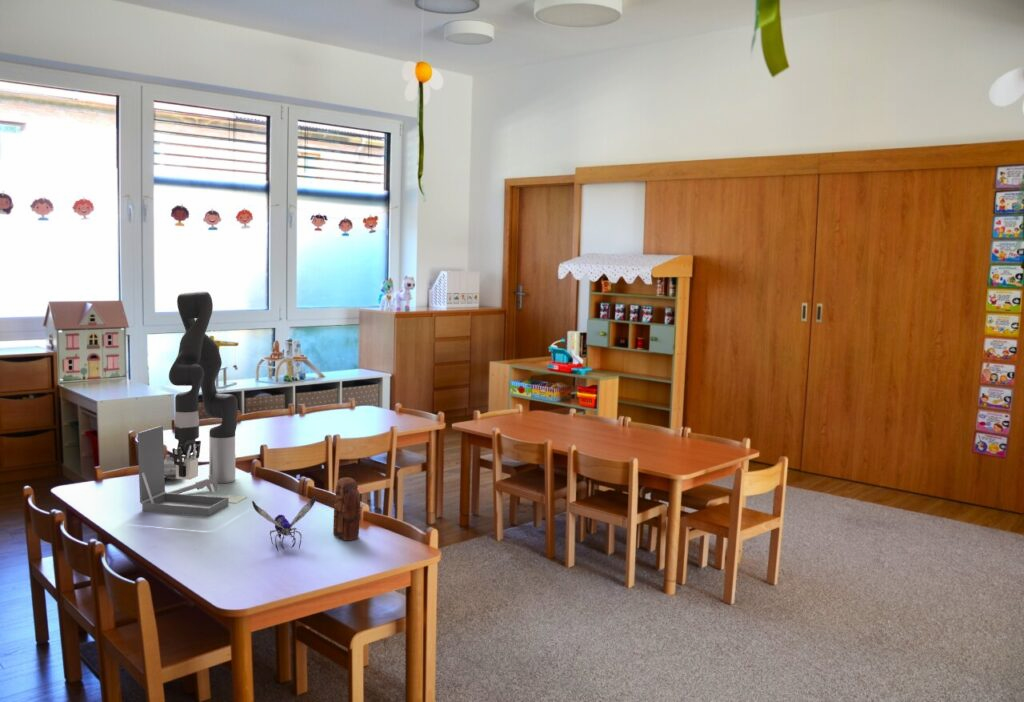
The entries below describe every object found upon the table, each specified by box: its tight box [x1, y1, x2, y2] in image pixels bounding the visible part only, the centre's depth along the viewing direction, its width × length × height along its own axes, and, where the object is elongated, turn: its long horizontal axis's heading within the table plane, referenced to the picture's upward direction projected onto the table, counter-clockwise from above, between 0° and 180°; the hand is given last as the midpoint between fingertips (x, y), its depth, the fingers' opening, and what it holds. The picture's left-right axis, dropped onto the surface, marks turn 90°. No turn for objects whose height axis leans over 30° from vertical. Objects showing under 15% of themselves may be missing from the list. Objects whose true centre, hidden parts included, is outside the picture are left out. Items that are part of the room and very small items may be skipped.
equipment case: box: [137, 425, 229, 517], centre depth 271 cm, size 13×25×26 cm, turn 82°
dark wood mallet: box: [332, 476, 361, 542], centre depth 251 cm, size 12×6×18 cm, turn 37°
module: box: [175, 458, 199, 481], centre depth 271 cm, size 5×5×6 cm
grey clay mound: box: [164, 454, 176, 481], centre depth 308 cm, size 12×12×11 cm
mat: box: [222, 494, 248, 504], centre depth 284 cm, size 8×8×1 cm
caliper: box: [166, 474, 218, 494], centre depth 290 cm, size 21×1×6 cm, turn 129°
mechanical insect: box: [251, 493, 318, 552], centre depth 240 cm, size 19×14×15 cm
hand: (187, 474), depth 271 cm, fingers closed on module, 5 cm apart
